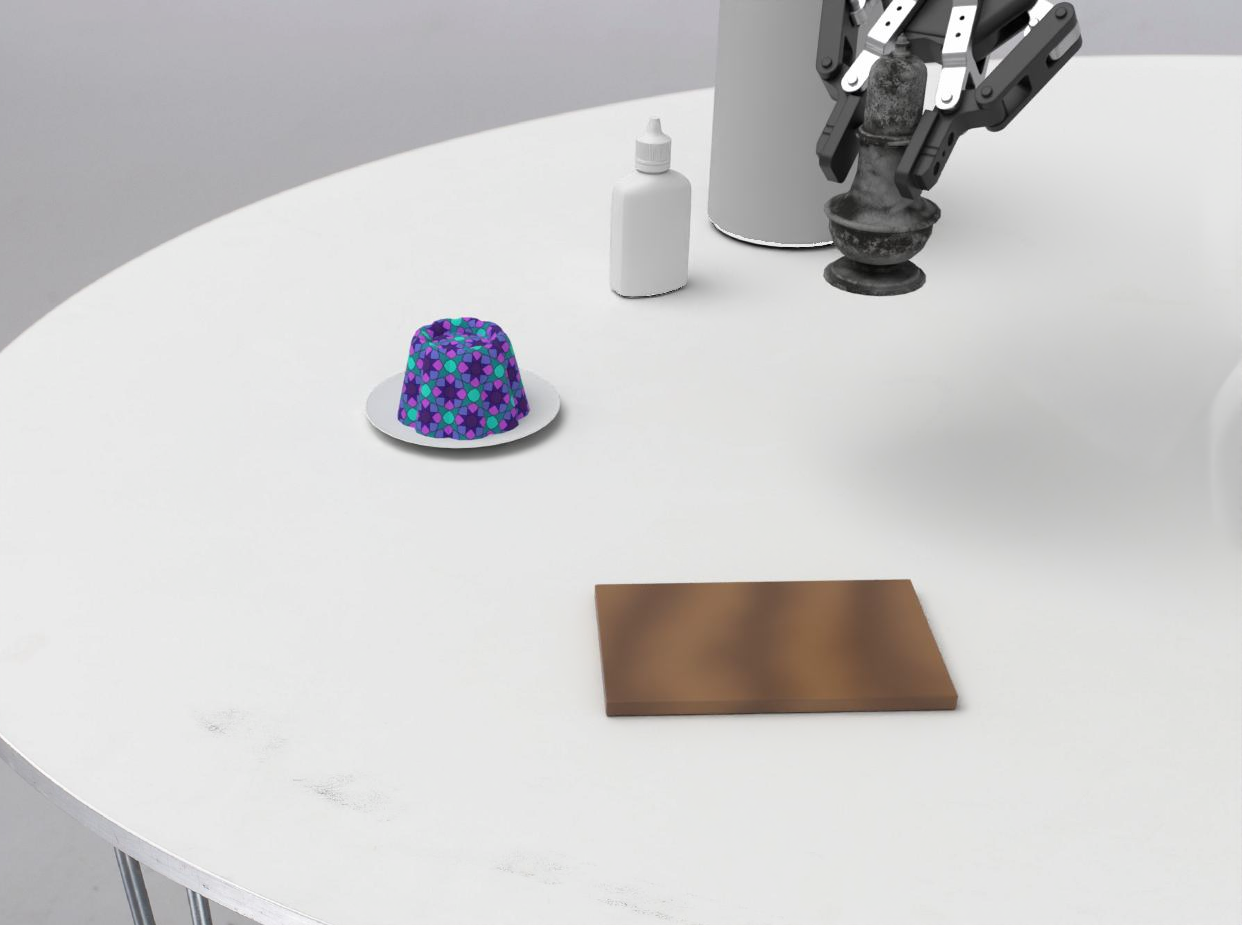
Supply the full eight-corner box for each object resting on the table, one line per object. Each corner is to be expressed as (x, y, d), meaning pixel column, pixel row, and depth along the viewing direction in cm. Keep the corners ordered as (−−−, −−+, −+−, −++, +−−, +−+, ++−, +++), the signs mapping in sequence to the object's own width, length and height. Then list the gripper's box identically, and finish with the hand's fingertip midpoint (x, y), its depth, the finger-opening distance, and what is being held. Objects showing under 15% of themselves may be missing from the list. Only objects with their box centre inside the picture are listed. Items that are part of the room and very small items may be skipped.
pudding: (345, 388, 97) (338, 309, 94) (524, 361, 101) (523, 284, 98) (393, 473, 88) (387, 389, 85) (588, 441, 91) (589, 358, 88)
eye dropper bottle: (610, 275, 113) (614, 107, 106) (686, 277, 112) (695, 108, 105) (607, 298, 109) (611, 126, 102) (686, 300, 109) (696, 127, 102)
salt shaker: (949, 270, 81) (985, 28, 74) (904, 307, 77) (937, 55, 70) (846, 248, 83) (871, 12, 76) (798, 283, 79) (819, 38, 72)
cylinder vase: (690, 241, 118) (709, -122, 104) (726, 191, 128) (748, -148, 113) (851, 259, 115) (895, -112, 100) (876, 206, 125) (920, -140, 110)
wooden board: (908, 591, 78) (910, 578, 78) (956, 710, 70) (958, 695, 70) (594, 597, 78) (594, 583, 77) (606, 716, 70) (606, 702, 69)
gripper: (869, -194, 76) (719, 115, 76) (1147, -172, 69) (983, 169, 69) (907, -91, 83) (769, 193, 82) (1165, -61, 76) (1015, 251, 75)
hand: (867, 181), depth 76 cm, fingers closed on salt shaker, 3 cm apart
